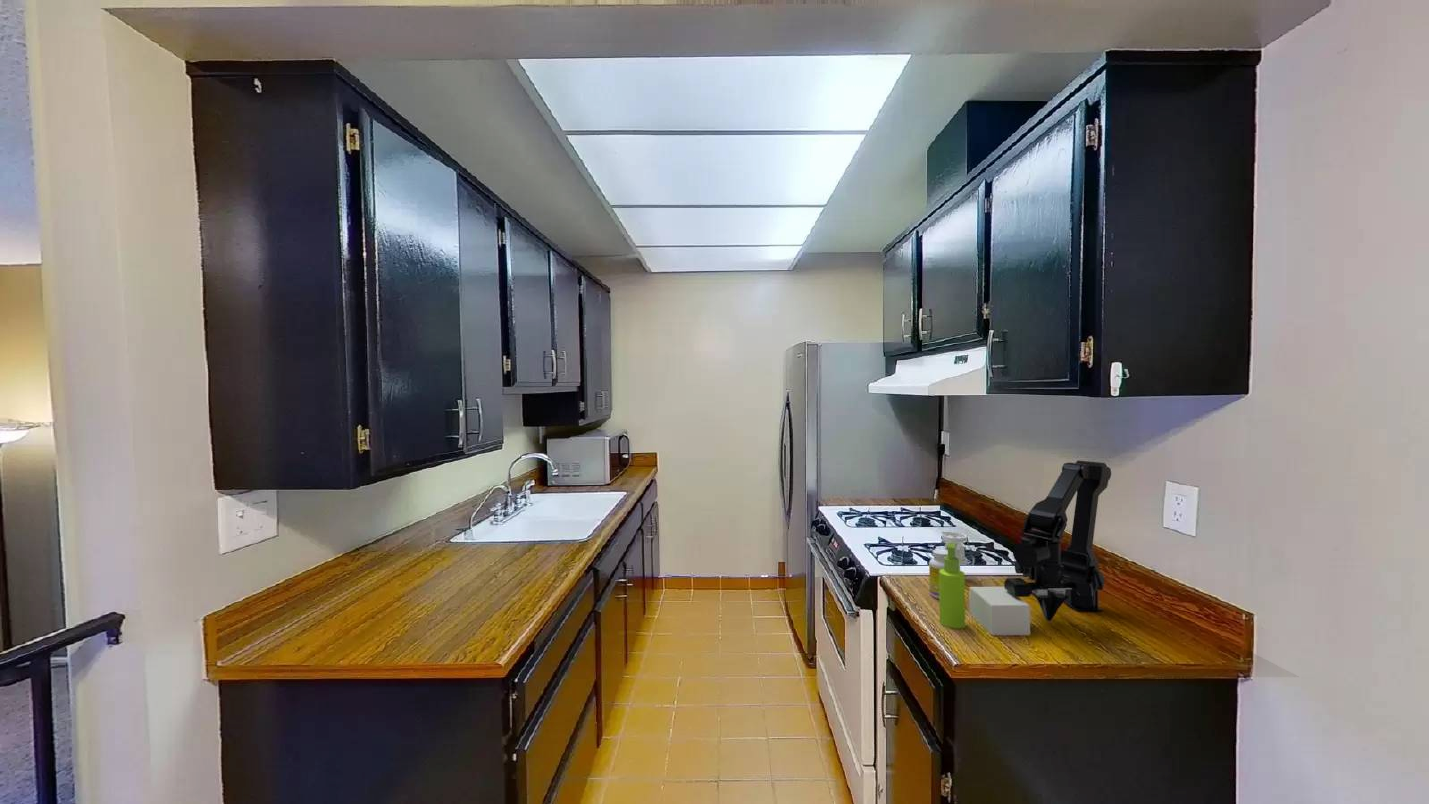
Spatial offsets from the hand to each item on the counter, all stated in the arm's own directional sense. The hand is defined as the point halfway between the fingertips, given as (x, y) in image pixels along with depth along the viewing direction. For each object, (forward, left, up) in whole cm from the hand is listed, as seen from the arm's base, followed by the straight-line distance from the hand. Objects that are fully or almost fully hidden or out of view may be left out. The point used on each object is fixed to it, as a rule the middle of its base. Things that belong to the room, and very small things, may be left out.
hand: (1048, 620), depth 131 cm
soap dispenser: (+23, -1, -1) cm, 23 cm away
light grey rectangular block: (+12, 0, -1) cm, 12 cm away
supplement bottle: (+19, -18, -1) cm, 26 cm away
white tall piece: (+10, -31, -1) cm, 32 cm away
